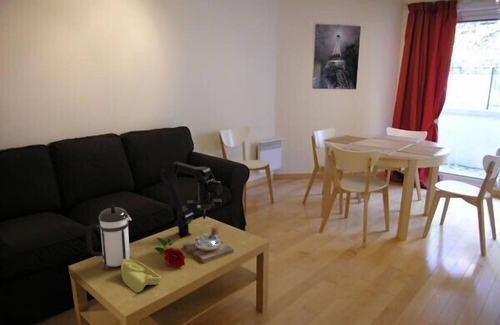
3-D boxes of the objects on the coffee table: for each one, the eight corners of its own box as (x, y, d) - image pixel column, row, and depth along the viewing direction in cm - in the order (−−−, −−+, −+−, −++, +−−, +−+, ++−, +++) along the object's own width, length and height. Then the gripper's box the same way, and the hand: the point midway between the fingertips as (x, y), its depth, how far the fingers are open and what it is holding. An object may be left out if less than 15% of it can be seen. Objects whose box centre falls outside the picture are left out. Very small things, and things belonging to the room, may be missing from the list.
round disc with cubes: (215, 253, 186) (215, 241, 184) (191, 250, 189) (190, 237, 188) (227, 238, 203) (227, 226, 201) (205, 235, 207) (205, 223, 205)
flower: (150, 227, 194) (179, 253, 172) (165, 230, 200) (194, 256, 178) (143, 243, 193) (170, 271, 172) (158, 246, 200) (186, 273, 178)
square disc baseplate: (183, 247, 196) (183, 244, 196) (212, 238, 207) (212, 235, 207) (203, 263, 181) (203, 259, 181) (233, 252, 192) (233, 248, 192)
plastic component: (163, 278, 164) (145, 277, 156) (157, 294, 163) (138, 294, 155) (137, 259, 176) (120, 258, 168) (132, 274, 175) (113, 274, 168)
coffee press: (121, 252, 190) (116, 196, 183) (139, 263, 180) (136, 204, 173) (88, 265, 177) (82, 206, 170) (106, 277, 167) (101, 215, 160)
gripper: (186, 197, 188) (187, 225, 192) (223, 195, 192) (223, 223, 196) (185, 190, 199) (186, 217, 202) (220, 188, 202) (220, 215, 206)
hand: (204, 218), depth 201 cm, fingers closed
